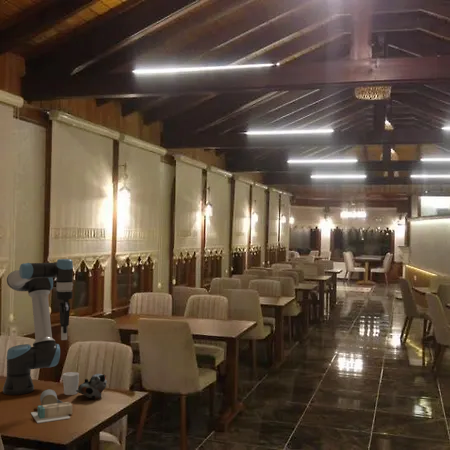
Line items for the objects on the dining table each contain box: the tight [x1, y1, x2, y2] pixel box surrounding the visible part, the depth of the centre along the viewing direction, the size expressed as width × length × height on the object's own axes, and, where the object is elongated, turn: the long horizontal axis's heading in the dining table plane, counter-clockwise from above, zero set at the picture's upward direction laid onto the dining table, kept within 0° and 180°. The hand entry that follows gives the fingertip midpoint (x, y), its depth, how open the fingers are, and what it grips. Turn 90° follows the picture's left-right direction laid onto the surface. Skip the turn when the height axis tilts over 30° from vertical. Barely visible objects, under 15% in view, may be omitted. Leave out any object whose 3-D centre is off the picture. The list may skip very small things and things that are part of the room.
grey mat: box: [30, 411, 71, 424], centre depth 256 cm, size 16×14×1 cm
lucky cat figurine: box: [76, 373, 108, 400], centre depth 287 cm, size 15×12×14 cm
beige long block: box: [37, 401, 73, 419], centre depth 257 cm, size 6×4×14 cm
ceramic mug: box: [39, 388, 64, 405], centre depth 269 cm, size 11×8×8 cm
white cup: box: [62, 371, 80, 396], centre depth 293 cm, size 8×8×10 cm
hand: (64, 339), depth 277 cm, fingers closed
